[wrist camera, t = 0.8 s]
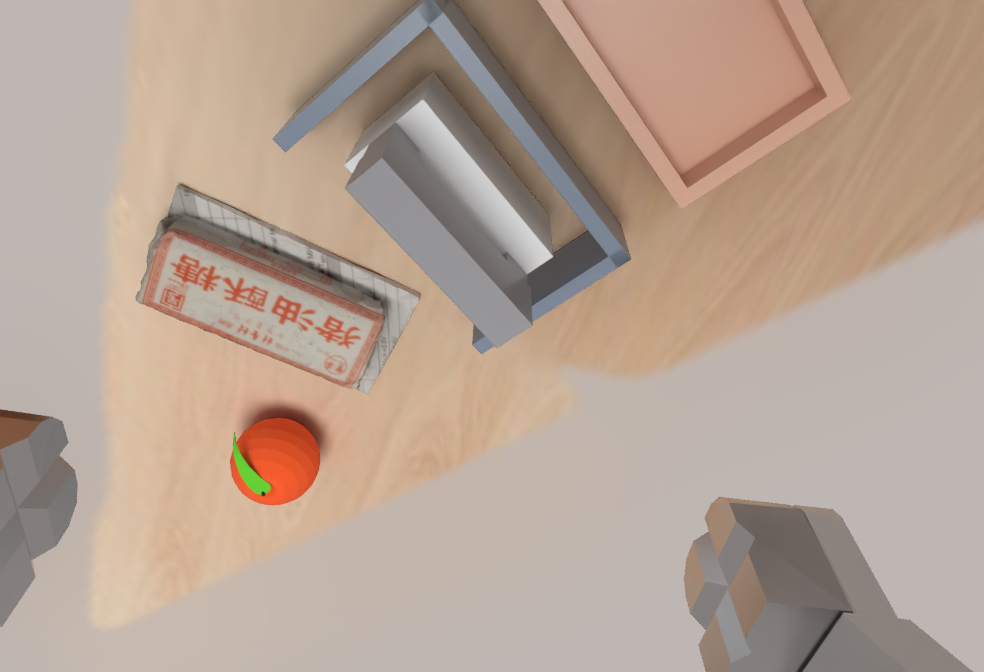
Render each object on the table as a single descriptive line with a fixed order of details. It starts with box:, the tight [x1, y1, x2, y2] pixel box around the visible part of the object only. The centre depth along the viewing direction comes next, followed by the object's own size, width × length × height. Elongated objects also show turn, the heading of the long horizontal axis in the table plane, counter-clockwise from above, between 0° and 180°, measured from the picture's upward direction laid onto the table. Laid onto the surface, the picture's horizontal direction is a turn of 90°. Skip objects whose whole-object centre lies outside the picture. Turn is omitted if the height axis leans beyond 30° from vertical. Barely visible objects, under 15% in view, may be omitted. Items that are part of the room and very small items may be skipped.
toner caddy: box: [344, 72, 553, 348], centre depth 41 cm, size 6×12×12 cm, turn 38°
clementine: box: [230, 418, 320, 505], centre depth 56 cm, size 8×7×7 cm
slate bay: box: [273, 0, 631, 354], centre depth 44 cm, size 12×19×5 cm, turn 38°
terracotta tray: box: [538, 0, 851, 209], centre depth 39 cm, size 11×17×3 cm, turn 38°
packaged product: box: [136, 185, 420, 394], centre depth 50 cm, size 18×5×10 cm
